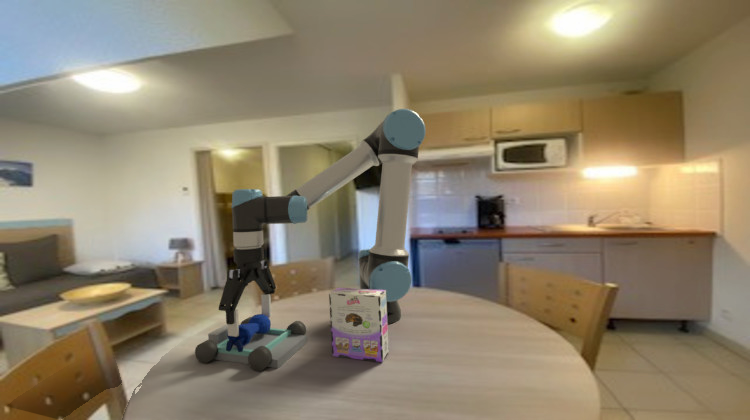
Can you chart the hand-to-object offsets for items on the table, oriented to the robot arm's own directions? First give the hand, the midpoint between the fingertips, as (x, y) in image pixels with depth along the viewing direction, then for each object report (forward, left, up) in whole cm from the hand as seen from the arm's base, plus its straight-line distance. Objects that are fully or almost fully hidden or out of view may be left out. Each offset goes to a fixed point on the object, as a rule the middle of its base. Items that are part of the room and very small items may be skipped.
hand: (251, 325), depth 88 cm
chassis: (-1, 0, -7) cm, 7 cm away
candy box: (-30, -4, -7) cm, 31 cm away
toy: (0, 0, -4) cm, 4 cm away
